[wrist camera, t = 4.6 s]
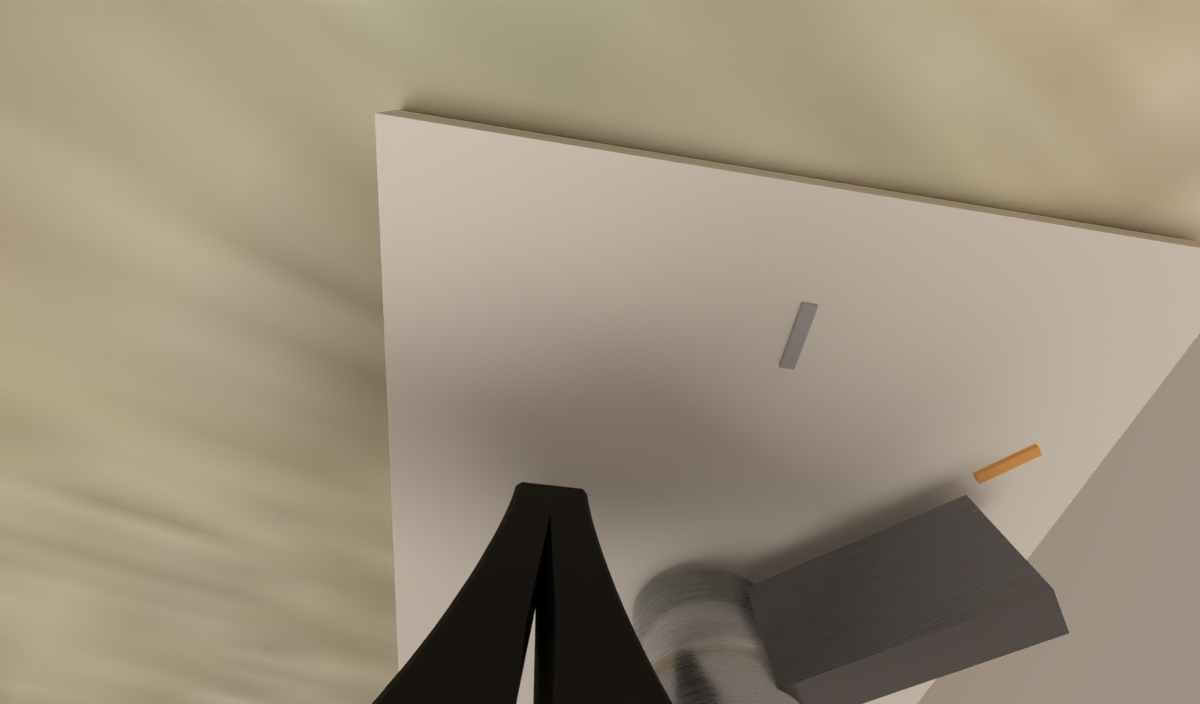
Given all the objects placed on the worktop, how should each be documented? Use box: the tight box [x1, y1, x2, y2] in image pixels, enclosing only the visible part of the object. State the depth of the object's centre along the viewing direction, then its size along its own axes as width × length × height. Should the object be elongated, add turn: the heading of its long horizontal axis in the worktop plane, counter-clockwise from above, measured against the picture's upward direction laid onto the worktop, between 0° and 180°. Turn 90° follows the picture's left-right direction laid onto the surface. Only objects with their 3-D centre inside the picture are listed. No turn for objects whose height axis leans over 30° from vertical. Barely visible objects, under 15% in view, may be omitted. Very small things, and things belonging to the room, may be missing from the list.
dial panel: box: [375, 110, 1200, 704], centre depth 13 cm, size 18×16×1 cm
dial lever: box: [632, 495, 1069, 704], centre depth 11 cm, size 9×4×3 cm, turn 123°
